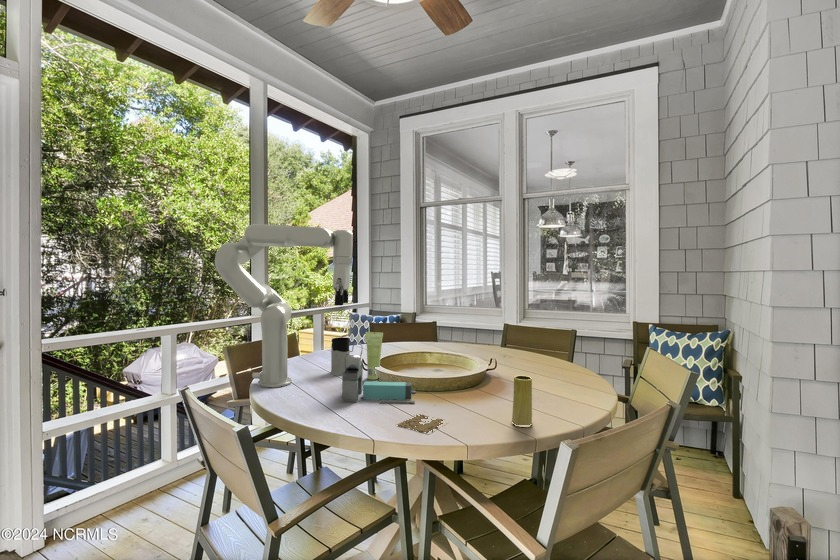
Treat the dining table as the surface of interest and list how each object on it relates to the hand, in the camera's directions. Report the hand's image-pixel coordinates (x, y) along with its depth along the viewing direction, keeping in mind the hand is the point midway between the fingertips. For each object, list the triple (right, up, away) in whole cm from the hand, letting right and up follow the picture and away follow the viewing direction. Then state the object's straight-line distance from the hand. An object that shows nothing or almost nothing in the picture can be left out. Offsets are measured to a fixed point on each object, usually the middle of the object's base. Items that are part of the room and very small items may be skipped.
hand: (341, 304), depth 173 cm
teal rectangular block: (+20, -33, -17) cm, 42 cm away
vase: (+62, -34, -42) cm, 83 cm away
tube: (+12, -32, +8) cm, 35 cm away
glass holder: (-1, -31, +16) cm, 35 cm away
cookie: (+32, -34, -43) cm, 64 cm away
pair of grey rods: (+24, -33, -18) cm, 44 cm away
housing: (+7, -32, -17) cm, 37 cm away
